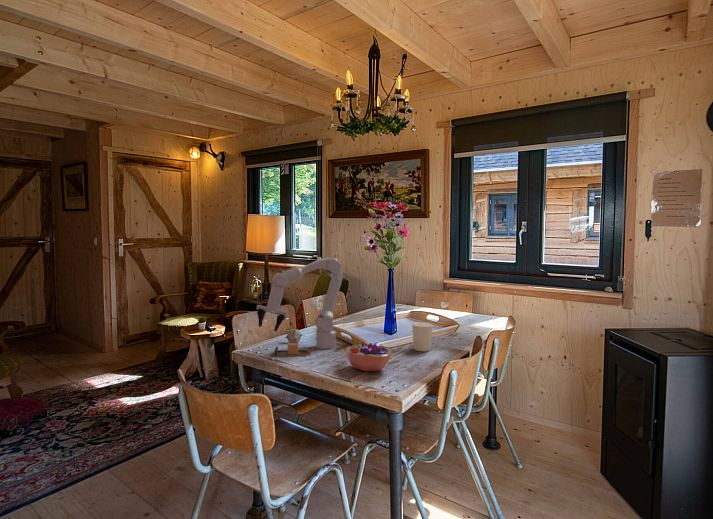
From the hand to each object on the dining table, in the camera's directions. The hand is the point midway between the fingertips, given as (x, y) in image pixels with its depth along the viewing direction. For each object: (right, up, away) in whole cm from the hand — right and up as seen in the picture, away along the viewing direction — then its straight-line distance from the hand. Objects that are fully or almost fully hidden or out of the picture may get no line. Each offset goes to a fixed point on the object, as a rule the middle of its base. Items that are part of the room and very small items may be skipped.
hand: (267, 328), depth 195 cm
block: (+11, -11, 0) cm, 16 cm away
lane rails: (+10, -13, 0) cm, 16 cm away
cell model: (+45, -14, -18) cm, 50 cm away
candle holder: (+72, -12, +12) cm, 74 cm away
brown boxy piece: (+11, -13, 0) cm, 17 cm away
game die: (+9, -11, +21) cm, 26 cm away
